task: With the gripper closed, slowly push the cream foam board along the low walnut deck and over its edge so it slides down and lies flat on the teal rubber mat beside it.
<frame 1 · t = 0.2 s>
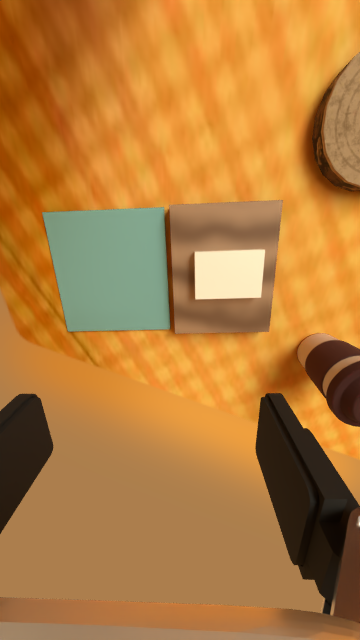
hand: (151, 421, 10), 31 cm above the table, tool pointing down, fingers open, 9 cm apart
cream foam board: (226, 273, 35), point 2 cm above the table, touching deck
deck: (221, 271, 38), on the table
mat: (111, 275, 38), on the table
coffee cup: (315, 349, 42), on the table
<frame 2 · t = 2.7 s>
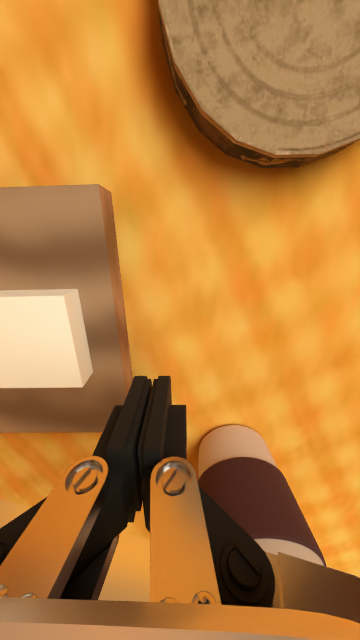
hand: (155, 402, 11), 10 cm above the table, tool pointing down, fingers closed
cream foam board: (22, 334, 18), point 2 cm above the table, touching deck
wood slice coaster: (294, 14, 13), on the table
deck: (36, 323, 20), on the table
coffee cup: (231, 446, 25), on the table
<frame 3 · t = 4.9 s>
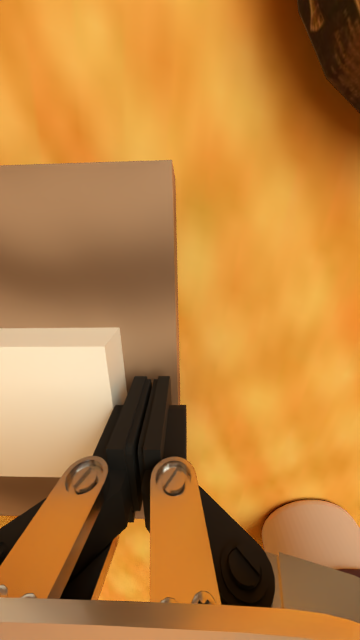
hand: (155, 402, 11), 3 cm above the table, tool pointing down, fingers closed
cream foam board: (31, 390, 12), point 2 cm above the table, touching deck, gripper
deck: (51, 365, 14), on the table
coffee cup: (303, 523, 19), on the table
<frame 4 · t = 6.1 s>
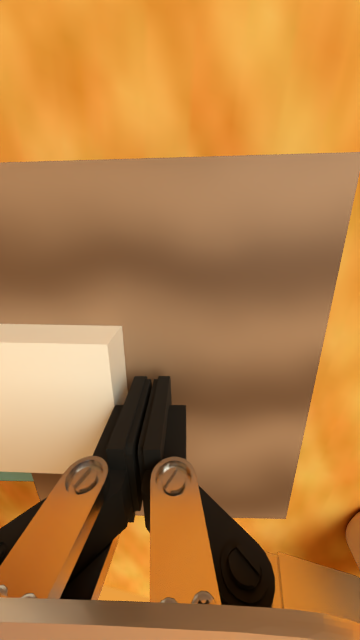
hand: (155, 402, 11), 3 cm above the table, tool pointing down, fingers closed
cream foam board: (32, 386, 12), point 3 cm above the table, touching deck, gripper
deck: (160, 363, 14), on the table
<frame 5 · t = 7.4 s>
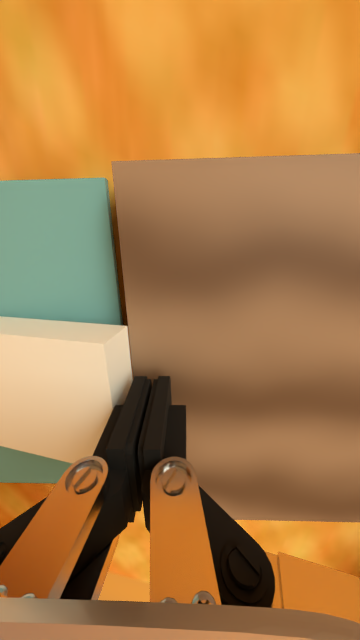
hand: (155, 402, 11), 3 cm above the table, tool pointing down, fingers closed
cream foam board: (52, 377, 13), point 1 cm above the table, tilted 12°
deck: (274, 364, 14), on the table
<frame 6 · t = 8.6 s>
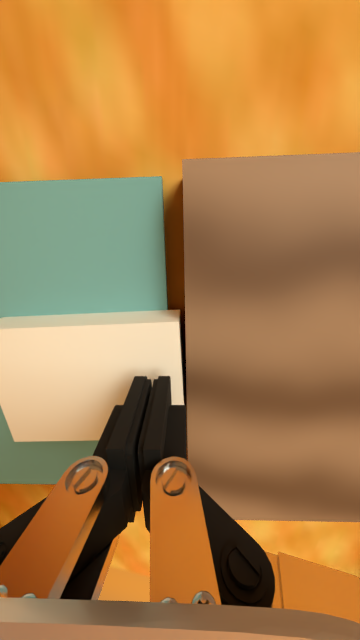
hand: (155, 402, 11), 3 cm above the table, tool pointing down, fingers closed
cream foam board: (100, 368, 14), resting on mat
deck: (319, 364, 14), on the table
mat: (20, 366, 14), on the table
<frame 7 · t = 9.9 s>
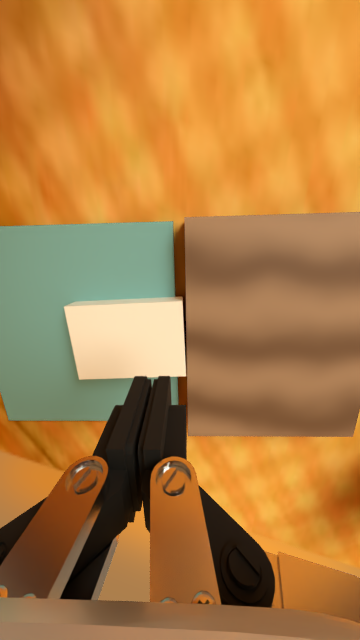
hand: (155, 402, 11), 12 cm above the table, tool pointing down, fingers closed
cream foam board: (132, 334, 22), resting on mat
deck: (269, 332, 22), on the table
mat: (80, 334, 22), on the table
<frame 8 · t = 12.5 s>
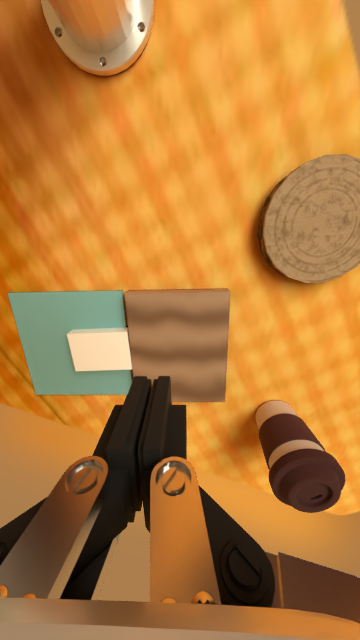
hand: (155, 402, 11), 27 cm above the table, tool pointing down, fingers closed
cream foam board: (104, 346, 40), resting on mat
wood slice coaster: (311, 225, 33), on the table
deck: (179, 345, 40), on the table
mat: (76, 346, 40), on the table
coffee cup: (273, 413, 44), on the table
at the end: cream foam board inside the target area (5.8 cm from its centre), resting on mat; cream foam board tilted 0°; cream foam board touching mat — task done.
